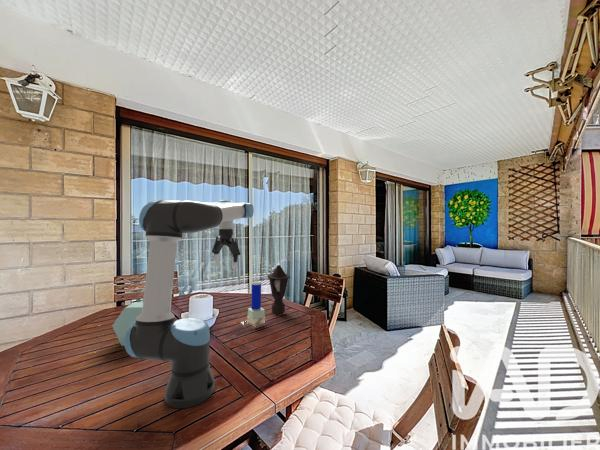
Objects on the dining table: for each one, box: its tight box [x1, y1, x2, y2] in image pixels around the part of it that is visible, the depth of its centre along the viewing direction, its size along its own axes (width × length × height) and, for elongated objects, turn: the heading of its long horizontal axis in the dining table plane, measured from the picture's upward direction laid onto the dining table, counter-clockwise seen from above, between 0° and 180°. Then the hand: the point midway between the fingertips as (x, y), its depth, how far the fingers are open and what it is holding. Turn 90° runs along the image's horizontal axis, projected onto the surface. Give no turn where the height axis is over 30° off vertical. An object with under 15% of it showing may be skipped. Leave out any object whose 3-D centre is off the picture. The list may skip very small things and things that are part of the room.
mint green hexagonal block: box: [112, 301, 143, 347], centre depth 120 cm, size 17×8×21 cm
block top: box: [247, 307, 266, 320], centre depth 142 cm, size 7×7×4 cm
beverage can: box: [250, 280, 262, 310], centre depth 142 cm, size 5×5×15 cm
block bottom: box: [246, 315, 266, 327], centre depth 142 cm, size 7×7×4 cm
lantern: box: [266, 264, 291, 315], centre depth 159 cm, size 15×15×30 cm
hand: (225, 266), depth 141 cm, fingers open, 13 cm apart
